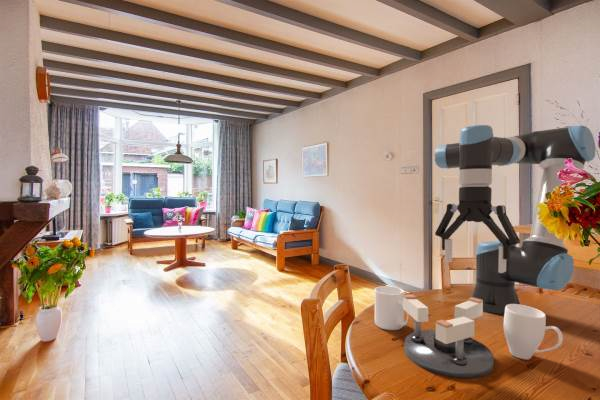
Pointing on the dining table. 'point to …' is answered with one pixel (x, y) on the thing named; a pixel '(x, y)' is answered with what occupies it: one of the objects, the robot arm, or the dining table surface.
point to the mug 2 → (526, 330)
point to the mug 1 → (389, 308)
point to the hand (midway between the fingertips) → (473, 267)
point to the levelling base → (449, 356)
